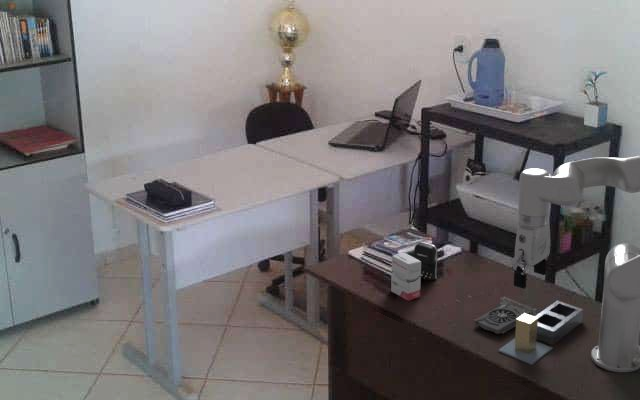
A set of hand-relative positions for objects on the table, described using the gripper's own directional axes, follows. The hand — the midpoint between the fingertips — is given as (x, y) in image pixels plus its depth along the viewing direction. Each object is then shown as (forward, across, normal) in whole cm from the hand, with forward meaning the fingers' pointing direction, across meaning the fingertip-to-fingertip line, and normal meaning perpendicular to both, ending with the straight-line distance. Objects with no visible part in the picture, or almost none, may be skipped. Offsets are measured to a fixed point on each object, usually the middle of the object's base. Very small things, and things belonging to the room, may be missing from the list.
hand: (529, 280), depth 221 cm
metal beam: (+21, +16, +29) cm, 39 cm away
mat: (+20, 0, 0) cm, 20 cm away
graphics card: (+21, +9, +13) cm, 27 cm away
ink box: (+20, +5, +44) cm, 49 cm away
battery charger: (+20, +17, +46) cm, 53 cm away
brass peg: (+20, 0, 0) cm, 20 cm away
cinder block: (+20, +14, 0) cm, 25 cm away
